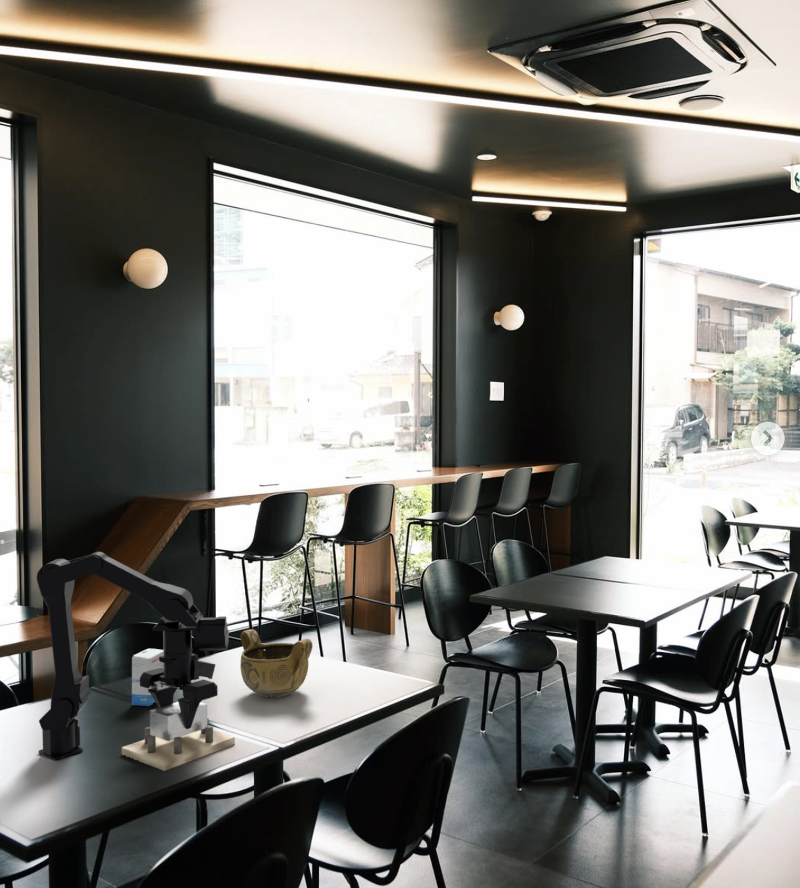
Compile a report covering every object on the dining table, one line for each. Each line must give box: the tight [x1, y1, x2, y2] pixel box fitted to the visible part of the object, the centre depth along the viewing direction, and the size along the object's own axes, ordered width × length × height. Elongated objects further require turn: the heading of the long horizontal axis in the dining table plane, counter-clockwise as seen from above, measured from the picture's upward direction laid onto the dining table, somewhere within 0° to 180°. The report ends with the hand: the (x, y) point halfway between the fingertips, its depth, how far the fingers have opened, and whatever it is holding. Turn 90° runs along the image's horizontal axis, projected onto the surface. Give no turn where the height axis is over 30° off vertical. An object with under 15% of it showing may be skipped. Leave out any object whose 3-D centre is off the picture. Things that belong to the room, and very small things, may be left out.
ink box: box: [131, 648, 164, 707], centre depth 218 cm, size 8×5×12 cm, turn 168°
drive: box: [149, 701, 208, 741], centre depth 186 cm, size 10×6×5 cm, turn 142°
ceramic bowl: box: [239, 629, 313, 699], centre depth 223 cm, size 22×17×15 cm
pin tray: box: [121, 717, 236, 772], centre depth 186 cm, size 18×14×4 cm
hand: (178, 725), depth 186 cm, fingers closed on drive, 6 cm apart
